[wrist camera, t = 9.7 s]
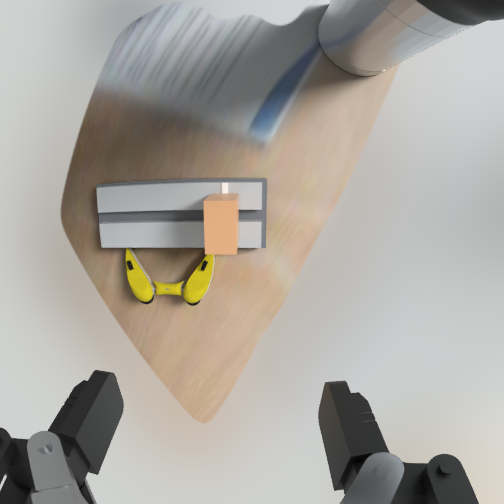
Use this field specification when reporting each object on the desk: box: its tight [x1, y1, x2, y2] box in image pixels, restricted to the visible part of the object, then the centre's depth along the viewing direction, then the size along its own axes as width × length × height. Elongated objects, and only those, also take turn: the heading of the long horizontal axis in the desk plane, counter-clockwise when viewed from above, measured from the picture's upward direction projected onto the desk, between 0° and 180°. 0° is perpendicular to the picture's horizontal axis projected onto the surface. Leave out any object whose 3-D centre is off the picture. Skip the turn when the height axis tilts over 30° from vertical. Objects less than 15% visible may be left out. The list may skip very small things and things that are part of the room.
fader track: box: [96, 178, 267, 248], centre depth 31 cm, size 18×7×3 cm, turn 90°
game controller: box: [126, 248, 215, 306], centre depth 33 cm, size 10×6×4 cm, turn 90°
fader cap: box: [204, 193, 239, 255], centre depth 27 cm, size 3×4×6 cm, turn 0°
